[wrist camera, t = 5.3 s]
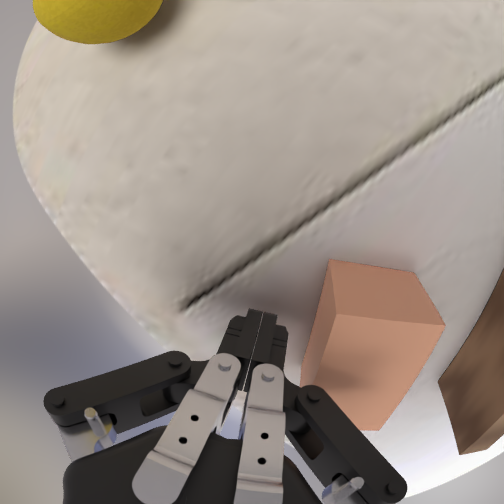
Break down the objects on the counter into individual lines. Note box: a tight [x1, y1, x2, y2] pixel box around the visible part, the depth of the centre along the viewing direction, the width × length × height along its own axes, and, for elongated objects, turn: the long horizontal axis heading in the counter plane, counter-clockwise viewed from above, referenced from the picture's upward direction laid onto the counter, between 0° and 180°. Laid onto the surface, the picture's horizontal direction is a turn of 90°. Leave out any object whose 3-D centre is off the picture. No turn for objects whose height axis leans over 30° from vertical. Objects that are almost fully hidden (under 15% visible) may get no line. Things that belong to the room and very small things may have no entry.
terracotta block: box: [300, 259, 446, 430], centre depth 14 cm, size 8×5×5 cm, turn 175°
